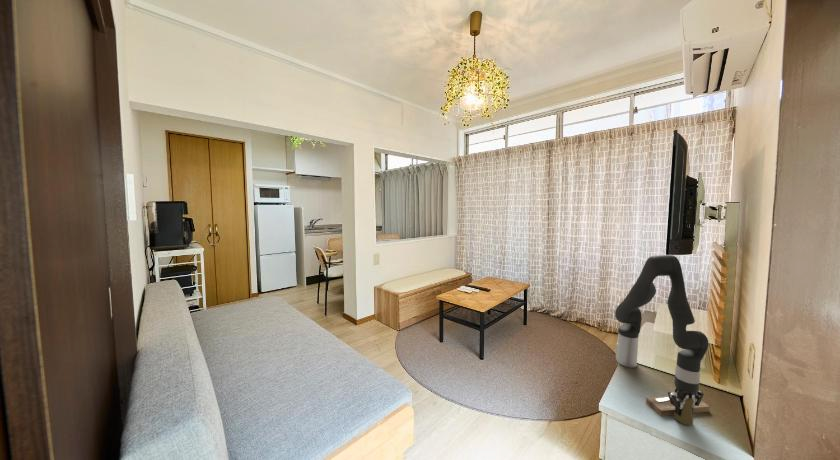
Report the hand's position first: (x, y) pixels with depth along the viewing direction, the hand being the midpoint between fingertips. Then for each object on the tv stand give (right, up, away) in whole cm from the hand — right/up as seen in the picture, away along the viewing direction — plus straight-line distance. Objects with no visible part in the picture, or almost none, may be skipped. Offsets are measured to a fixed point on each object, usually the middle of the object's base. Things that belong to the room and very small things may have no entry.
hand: (683, 414), depth 121 cm
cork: (0, -2, 0) cm, 2 cm away
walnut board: (+4, -2, +8) cm, 9 cm away
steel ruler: (+3, +1, +10) cm, 10 cm away
